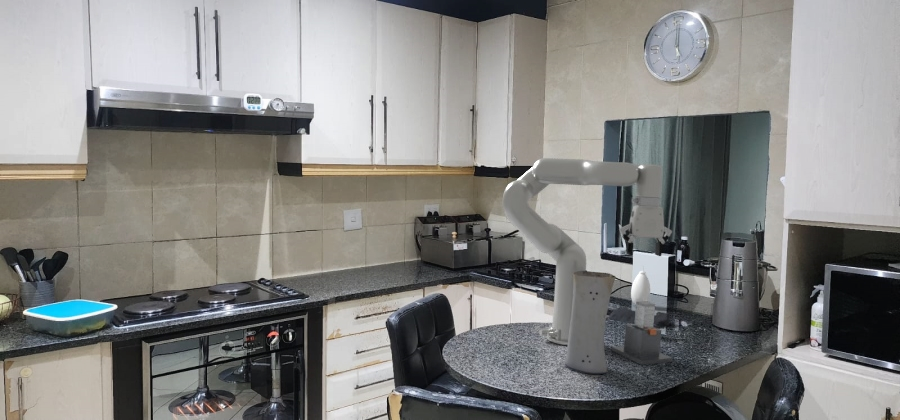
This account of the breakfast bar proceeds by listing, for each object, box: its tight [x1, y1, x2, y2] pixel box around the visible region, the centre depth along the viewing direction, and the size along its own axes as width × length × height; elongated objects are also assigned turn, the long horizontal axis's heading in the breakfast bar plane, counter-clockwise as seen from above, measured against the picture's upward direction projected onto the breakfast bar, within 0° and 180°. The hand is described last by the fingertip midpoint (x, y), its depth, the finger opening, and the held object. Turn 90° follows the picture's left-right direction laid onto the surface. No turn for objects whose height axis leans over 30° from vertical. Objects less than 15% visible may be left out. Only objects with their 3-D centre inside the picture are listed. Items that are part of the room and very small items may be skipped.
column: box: [634, 300, 656, 331], centre depth 191 cm, size 4×4×16 cm
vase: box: [564, 270, 616, 375], centre depth 177 cm, size 13×14×28 cm
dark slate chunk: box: [608, 307, 671, 330], centre depth 238 cm, size 15×22×5 cm
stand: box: [611, 324, 673, 366], centre depth 192 cm, size 12×14×10 cm
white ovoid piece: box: [630, 266, 651, 306], centre depth 261 cm, size 8×8×18 cm
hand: (643, 255), depth 197 cm, fingers open, 9 cm apart
